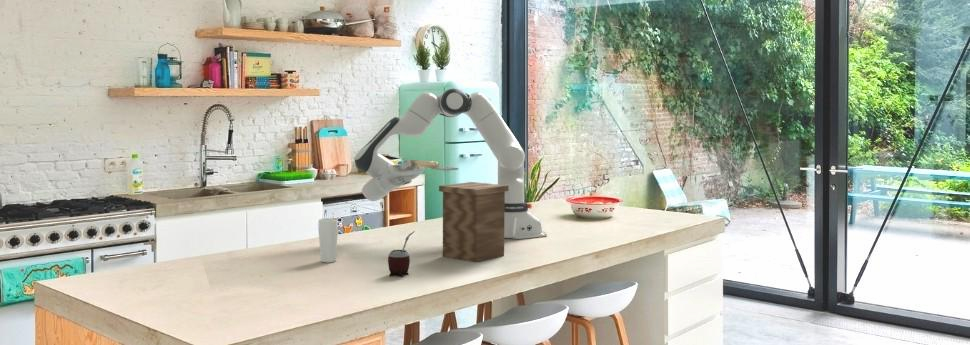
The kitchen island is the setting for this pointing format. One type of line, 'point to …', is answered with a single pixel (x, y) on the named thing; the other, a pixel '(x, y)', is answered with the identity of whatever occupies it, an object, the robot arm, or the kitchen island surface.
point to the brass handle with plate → (429, 165)
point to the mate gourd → (399, 261)
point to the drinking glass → (328, 239)
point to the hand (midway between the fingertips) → (414, 162)
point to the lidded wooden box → (473, 220)
